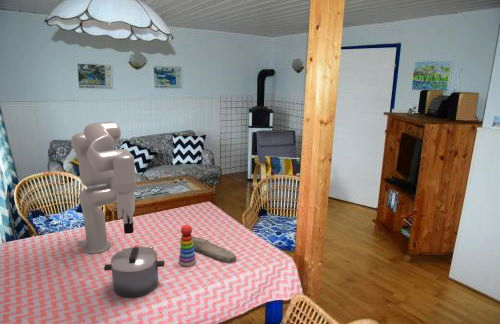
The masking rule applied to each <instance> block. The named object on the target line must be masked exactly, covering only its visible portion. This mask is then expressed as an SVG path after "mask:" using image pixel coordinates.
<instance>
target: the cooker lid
mask: <svg viewBox="0 0 500 324" xmlns="http://www.w3.org/2000/svg"><path fill="white" fill-rule="evenodd" d="M123 249H124V250H120V251H118V252H116V253H115V254H113V256H111V259H110V264H111V267H112V268H113V269H114V270H115V271H118V272H121V273H135V272H140V271H143V270H146V269H148V268H150V267H151V266H153V265H154V264H155V263H156V261H158V253H157V252H156V250H155V249H151V248H149V247H147V246H139V245H138V244H137V245H136V244H135V245H134V246H132V247H128V248H127V249H126V248H123Z"/></svg>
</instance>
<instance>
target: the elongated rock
mask: <svg viewBox="0 0 500 324" xmlns="http://www.w3.org/2000/svg"><path fill="white" fill-rule="evenodd" d="M192 240H193V244H194V245H193V246H194V251H195V252H197V253H201V254H204V255H207V257H211V258H214V259H215V260H218V261H220V262H223V263H229V264H233V263H235V262H236V261H237V256H236V254H235V253H234V252H232V251H230V250H227V249H226V248H224V247H222V246H219V245H216V244H214V243H212V242H211V241H209V240H208V239H204V238H201V237H197V236H193V235H192Z"/></svg>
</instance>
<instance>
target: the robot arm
mask: <svg viewBox="0 0 500 324" xmlns="http://www.w3.org/2000/svg"><path fill="white" fill-rule="evenodd" d="M121 134H122V132H121V128H120V126H119V125H118V124H117V123H116V122H114V121H105V122H93V123H89V124H88V125H86V126H85V127H84V129H83V132H78V133H75V134H73V135H72V136H71V147H72V149H73V150H74V153H75V155H76V156H77V162H78V170H79V176H80V182H81V184H82V186H84V187H87V188H85V189H83V190H81V191H80V193H79V195H78V199H79V203H80V207H81V211H82V215H83V217H82V218H83V223H84V233H85V239H83V240H80V239H79V240H77V245H78V246H79V247H83V251H84V252H85V253H86V254H91V255H92V254H94V255H95V254H101V253H103V252H106V251H108V250H109V249H110V248H111V246H112V244H111V242H110V241H109V240H108V236H107V227H106V226H107V225H106V216H105V212H104V211H103V210H102V209H101V208H99V207H102V206H105V205H110V204H114V203H116V211H117V213H116V214H117V219H118V220H121V219H122V221H123V232H124V233H123V234H127V235H128V234H134V230H135V229H134V228H135V227H134V221H133V219H134V218H133V215H134V213H135V210H136V204H135V203H136V202H135V201H136V200H135V192H136V191H137V181H136V177H137V176H136V164H135V156H134V155H133V154H132V153H131V152H130V151H129V150H128V149H126V148H121V149H114V147H115V146H116V144H117V143H118V142H119V140H120V138H121V136H122V135H121ZM103 184H104V185H103ZM97 185H99V186H97ZM91 186H93V187H91Z"/></svg>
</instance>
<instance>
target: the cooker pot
mask: <svg viewBox="0 0 500 324" xmlns="http://www.w3.org/2000/svg"><path fill="white" fill-rule="evenodd" d="M148 248H151V249H153V250H155V249H154V246H149V247H148ZM121 249H122V250H124V249H127V248H121ZM122 250H121V251H122ZM161 267H162V268H163V267H164V268H165V260H157V261H156V263H155V264H154V265H153V266H151V267H150V268H148V269H146V270H143V271H140V272H135V273H121V272H118V271H115V270H114V269H113V268H112V267H111V263H109V264H108V263H107V264H104V268H103V270H104V272H105V271H106V272H107V271H111V277H112V286H113V287H112V289H113V292H114V294H115V295H116V296H119V297H120V298H124V299H135V298H140V297H141V298H142V297H144V296H146V295H149V294H150V293H152V292H154V291H155V290H156V288H157V287H158V286H159V282H160V281H159V268H161Z"/></svg>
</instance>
